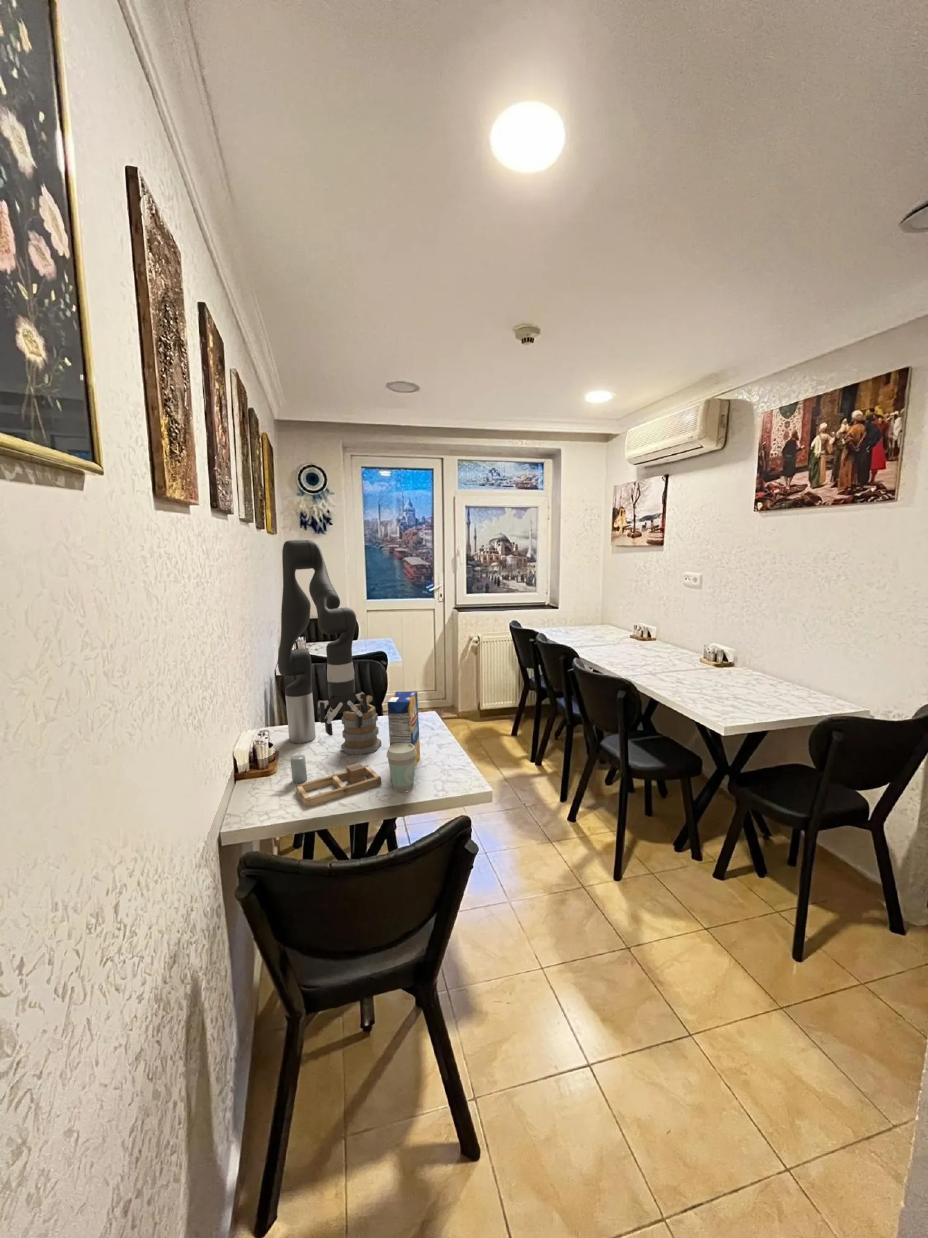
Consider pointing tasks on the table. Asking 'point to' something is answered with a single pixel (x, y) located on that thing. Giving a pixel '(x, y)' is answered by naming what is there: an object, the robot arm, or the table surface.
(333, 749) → the table surface
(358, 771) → the walnut block
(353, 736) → the tankard
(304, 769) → the grey shaker
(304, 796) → the frame
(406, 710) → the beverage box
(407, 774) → the coffee cup
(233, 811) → the table surface
